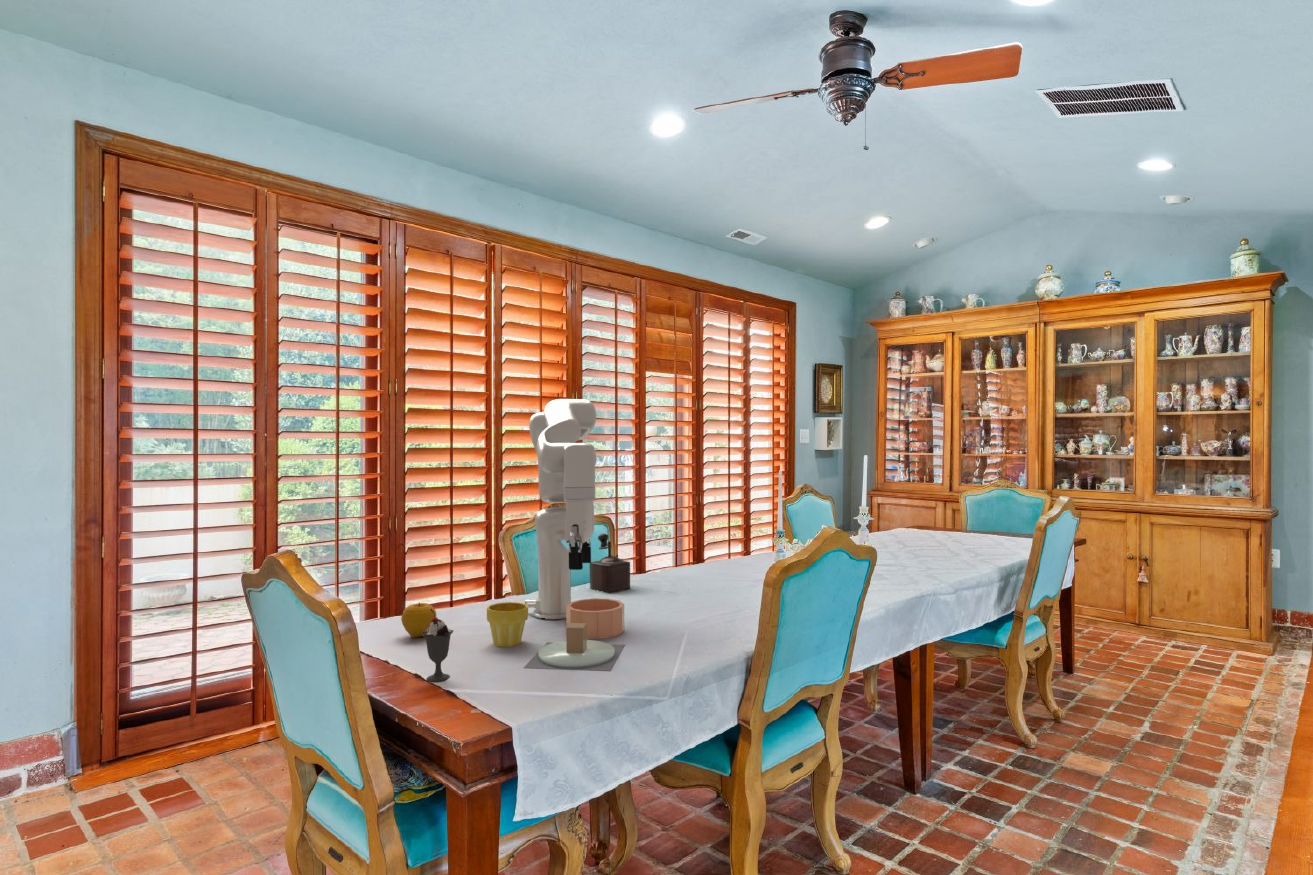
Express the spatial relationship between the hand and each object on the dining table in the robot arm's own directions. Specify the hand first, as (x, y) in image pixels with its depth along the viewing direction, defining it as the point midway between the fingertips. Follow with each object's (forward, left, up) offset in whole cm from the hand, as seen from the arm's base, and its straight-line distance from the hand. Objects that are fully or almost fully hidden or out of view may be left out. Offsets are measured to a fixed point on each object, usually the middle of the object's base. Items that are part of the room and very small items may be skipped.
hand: (580, 566), depth 172 cm
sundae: (-28, -19, -22) cm, 40 cm away
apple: (-47, +12, -22) cm, 53 cm away
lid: (-1, -2, -21) cm, 21 cm away
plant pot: (-21, +7, -22) cm, 31 cm away
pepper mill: (-9, +77, -22) cm, 81 cm away
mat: (-1, -2, -22) cm, 22 cm away
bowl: (-1, +20, -22) cm, 30 cm away
